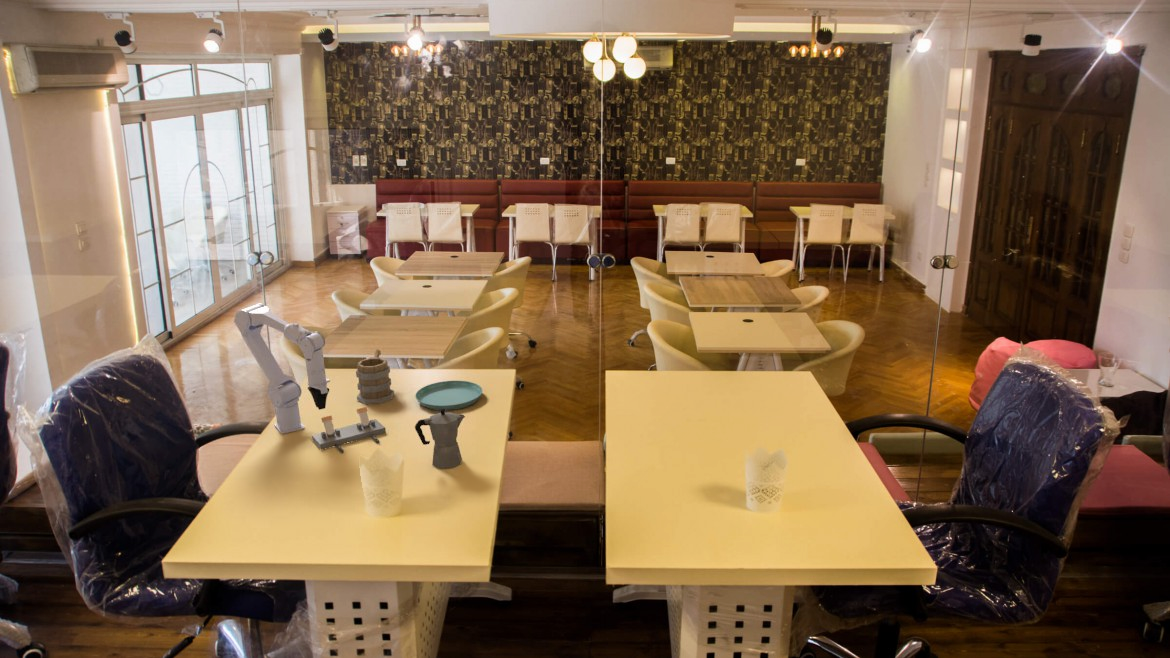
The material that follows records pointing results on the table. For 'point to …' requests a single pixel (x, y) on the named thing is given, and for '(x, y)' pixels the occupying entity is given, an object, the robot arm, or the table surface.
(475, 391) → the saucer
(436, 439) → the coffeepot
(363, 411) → the lever
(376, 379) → the tankard
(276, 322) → the robot arm
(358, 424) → the breaker block
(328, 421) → the lever
